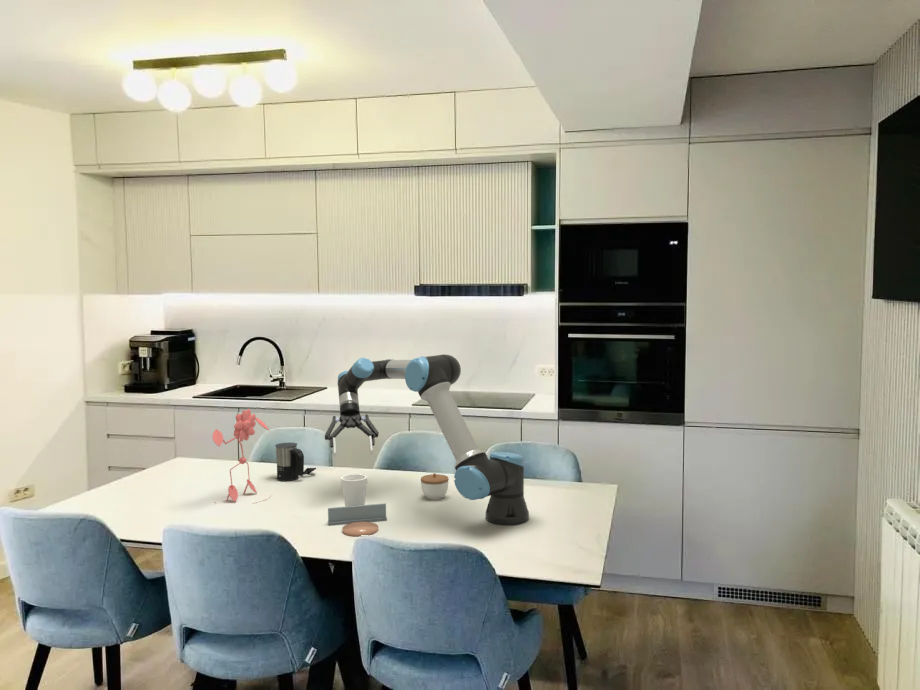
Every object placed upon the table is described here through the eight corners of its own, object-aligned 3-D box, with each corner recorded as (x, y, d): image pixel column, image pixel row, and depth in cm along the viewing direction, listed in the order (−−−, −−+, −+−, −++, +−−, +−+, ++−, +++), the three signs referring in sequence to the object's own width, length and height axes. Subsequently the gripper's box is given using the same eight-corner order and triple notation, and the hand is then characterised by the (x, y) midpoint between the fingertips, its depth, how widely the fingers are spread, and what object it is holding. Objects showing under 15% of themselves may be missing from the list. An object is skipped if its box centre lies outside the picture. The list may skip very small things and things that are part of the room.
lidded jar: (415, 499, 288) (415, 475, 287) (429, 492, 297) (429, 468, 297) (440, 502, 283) (439, 478, 282) (453, 495, 292) (453, 471, 292)
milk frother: (272, 480, 318) (270, 446, 316) (291, 471, 333) (289, 438, 331) (302, 483, 314) (301, 447, 312) (320, 473, 329) (319, 440, 327)
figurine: (208, 505, 284) (206, 413, 280) (256, 488, 307) (255, 403, 303) (239, 511, 277) (237, 417, 273) (286, 493, 300) (284, 406, 296)
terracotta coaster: (385, 529, 254) (385, 526, 254) (360, 538, 245) (360, 535, 245) (360, 522, 261) (360, 519, 261) (334, 531, 252) (334, 528, 252)
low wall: (385, 516, 267) (384, 502, 267) (386, 520, 263) (386, 505, 263) (328, 521, 262) (327, 506, 262) (328, 525, 259) (328, 510, 258)
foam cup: (355, 507, 279) (355, 472, 278) (373, 511, 273) (372, 476, 272) (336, 513, 272) (335, 478, 271) (354, 518, 266) (353, 482, 265)
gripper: (380, 410, 300) (385, 456, 287) (316, 413, 295) (319, 460, 282) (381, 399, 295) (387, 446, 282) (317, 402, 289) (319, 449, 276)
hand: (353, 453), depth 282 cm, fingers open, 13 cm apart
